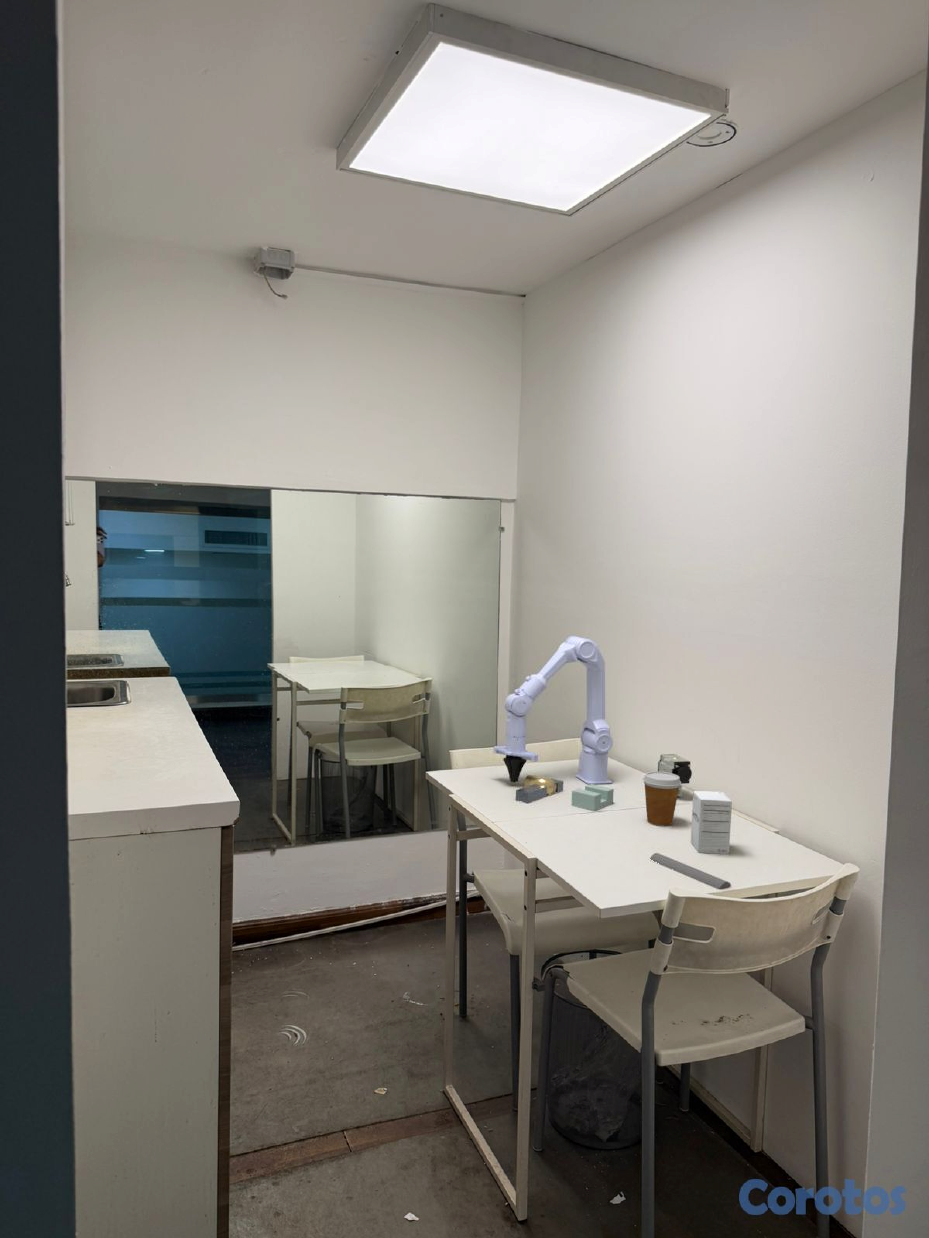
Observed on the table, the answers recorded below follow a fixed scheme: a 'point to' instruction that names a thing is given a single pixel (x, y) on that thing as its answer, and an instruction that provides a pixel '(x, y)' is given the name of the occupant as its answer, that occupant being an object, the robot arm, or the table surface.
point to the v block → (592, 797)
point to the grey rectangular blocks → (535, 792)
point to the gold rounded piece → (541, 783)
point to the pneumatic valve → (676, 768)
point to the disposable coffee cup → (661, 797)
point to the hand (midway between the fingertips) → (514, 781)
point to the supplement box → (711, 822)
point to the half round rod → (690, 871)
